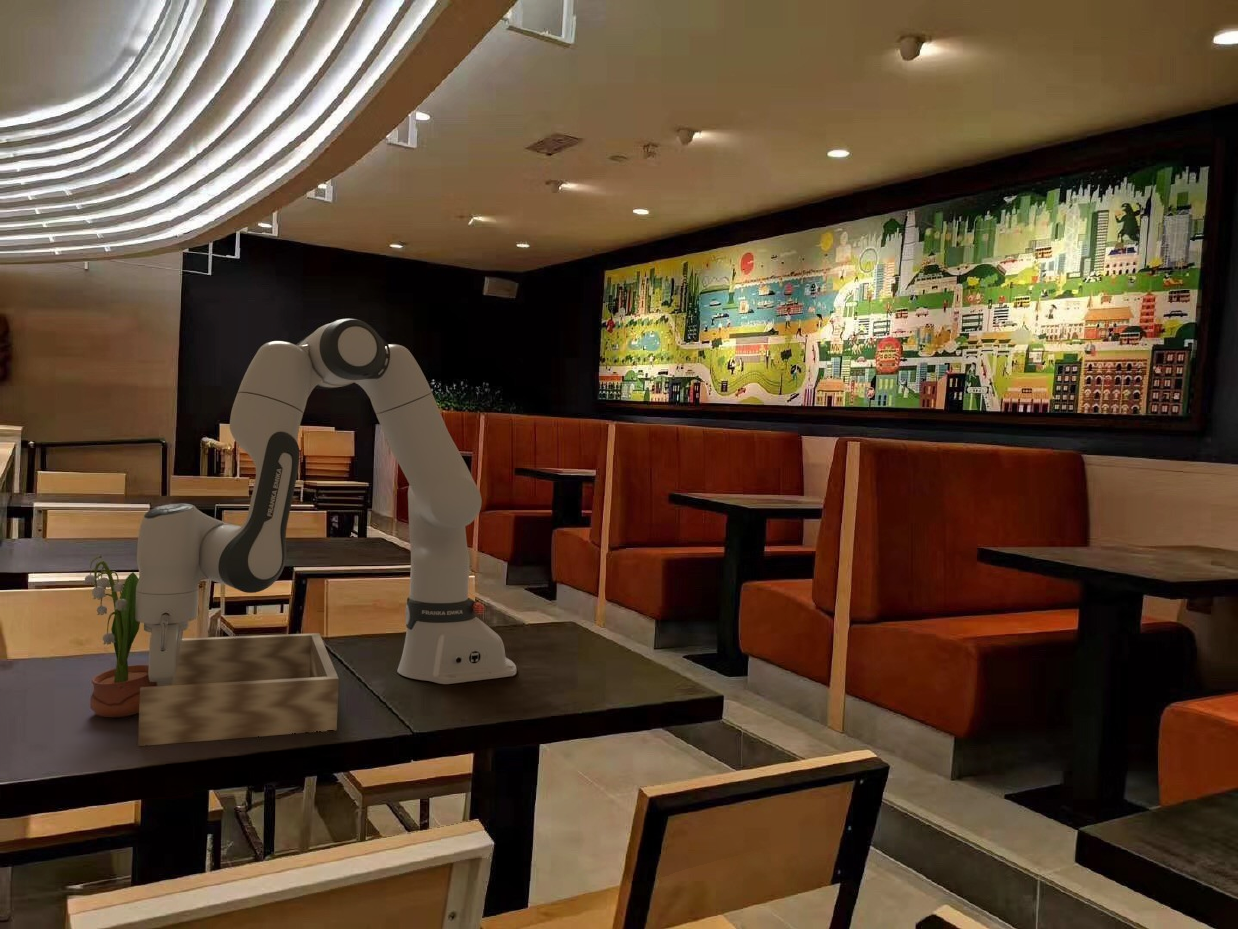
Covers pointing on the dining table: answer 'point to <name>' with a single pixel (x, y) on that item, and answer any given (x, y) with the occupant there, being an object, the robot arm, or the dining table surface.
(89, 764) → the dining table surface
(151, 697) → the open wooden planter box
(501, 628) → the dining table surface
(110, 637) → the potted flower
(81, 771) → the dining table surface
